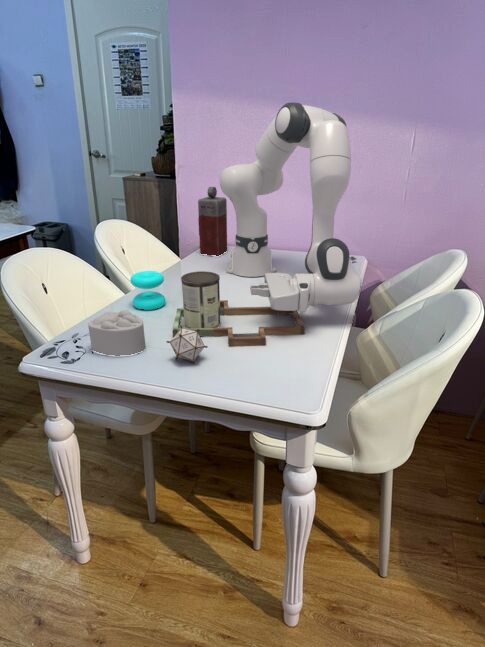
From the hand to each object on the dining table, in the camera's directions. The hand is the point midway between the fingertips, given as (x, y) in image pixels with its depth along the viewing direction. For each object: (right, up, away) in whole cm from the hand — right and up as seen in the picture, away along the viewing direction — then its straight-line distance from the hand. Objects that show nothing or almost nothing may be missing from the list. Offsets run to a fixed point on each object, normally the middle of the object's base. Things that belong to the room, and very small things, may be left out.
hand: (250, 290), depth 123 cm
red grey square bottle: (-16, +21, +74) cm, 78 cm away
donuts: (-31, -4, +17) cm, 36 cm away
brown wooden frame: (-4, -9, +3) cm, 11 cm away
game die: (-15, -18, -15) cm, 28 cm away
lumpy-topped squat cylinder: (-33, -15, -9) cm, 37 cm away
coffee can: (-14, -10, +3) cm, 17 cm away
